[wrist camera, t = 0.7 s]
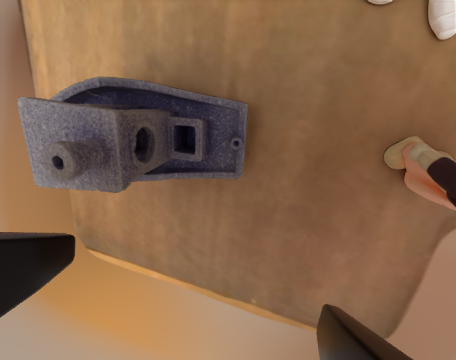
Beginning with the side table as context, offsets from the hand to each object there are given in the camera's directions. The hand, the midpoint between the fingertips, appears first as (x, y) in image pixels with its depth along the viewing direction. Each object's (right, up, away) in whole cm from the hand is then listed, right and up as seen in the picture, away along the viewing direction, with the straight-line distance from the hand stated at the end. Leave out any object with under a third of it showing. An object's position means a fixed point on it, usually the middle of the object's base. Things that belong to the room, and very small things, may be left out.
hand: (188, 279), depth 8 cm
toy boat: (-4, +8, +15) cm, 17 cm away
